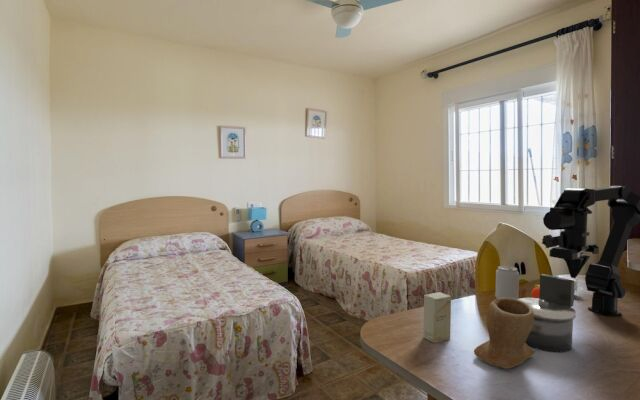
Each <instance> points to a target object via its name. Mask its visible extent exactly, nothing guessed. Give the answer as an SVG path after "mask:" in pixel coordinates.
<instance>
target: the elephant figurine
mask: <svg viewBox="0 0 640 400" xmlns="http://www.w3.org/2000/svg"><path fill="white" fill-rule="evenodd" d="M554 276H555V277H559V276H558V275H557V274H555V275H554ZM564 279H566V278H564ZM568 279H569V280H574V294H575V293H576V292H578V283H579V282H578V280H579V279H578V276H577V277H576V278H575V279H574V278H568Z"/></svg>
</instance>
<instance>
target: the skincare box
mask: <svg viewBox="0 0 640 400" xmlns="http://www.w3.org/2000/svg"><path fill="white" fill-rule="evenodd" d="M451 312H452V296H451V295H449V294H447V293H444V292H441V291H436V292H431V293H428V294H424V295H423V338H424V339H426V340H428V341H430V342H431V343H434V344H436V343H440V342H444V341H447V340H451V327H452V325H451V319H452V317H451V314H452V313H451Z"/></svg>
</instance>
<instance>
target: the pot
mask: <svg viewBox="0 0 640 400" xmlns="http://www.w3.org/2000/svg"><path fill="white" fill-rule="evenodd" d="M573 329H574V319H573V320H570V321H549V320H543V319H538V318H534V322H533V327H532V329H531V331H530V333H529V335H528V337H527V339H526V342H525V343H526V344H527V345H528V346H529V347H531V348H532V349H536V350H538V351H544V352H549V353H567V352H569V351H571V350H572V349H573V331H574V330H573Z"/></svg>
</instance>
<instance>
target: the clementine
mask: <svg viewBox="0 0 640 400" xmlns="http://www.w3.org/2000/svg"><path fill="white" fill-rule="evenodd" d="M529 288H530V289H529V290H531V289H532V288H533V289H532V290H531V293H530V295H531V298H539V294H540V284H534V285H532V286H531V287H529Z"/></svg>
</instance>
